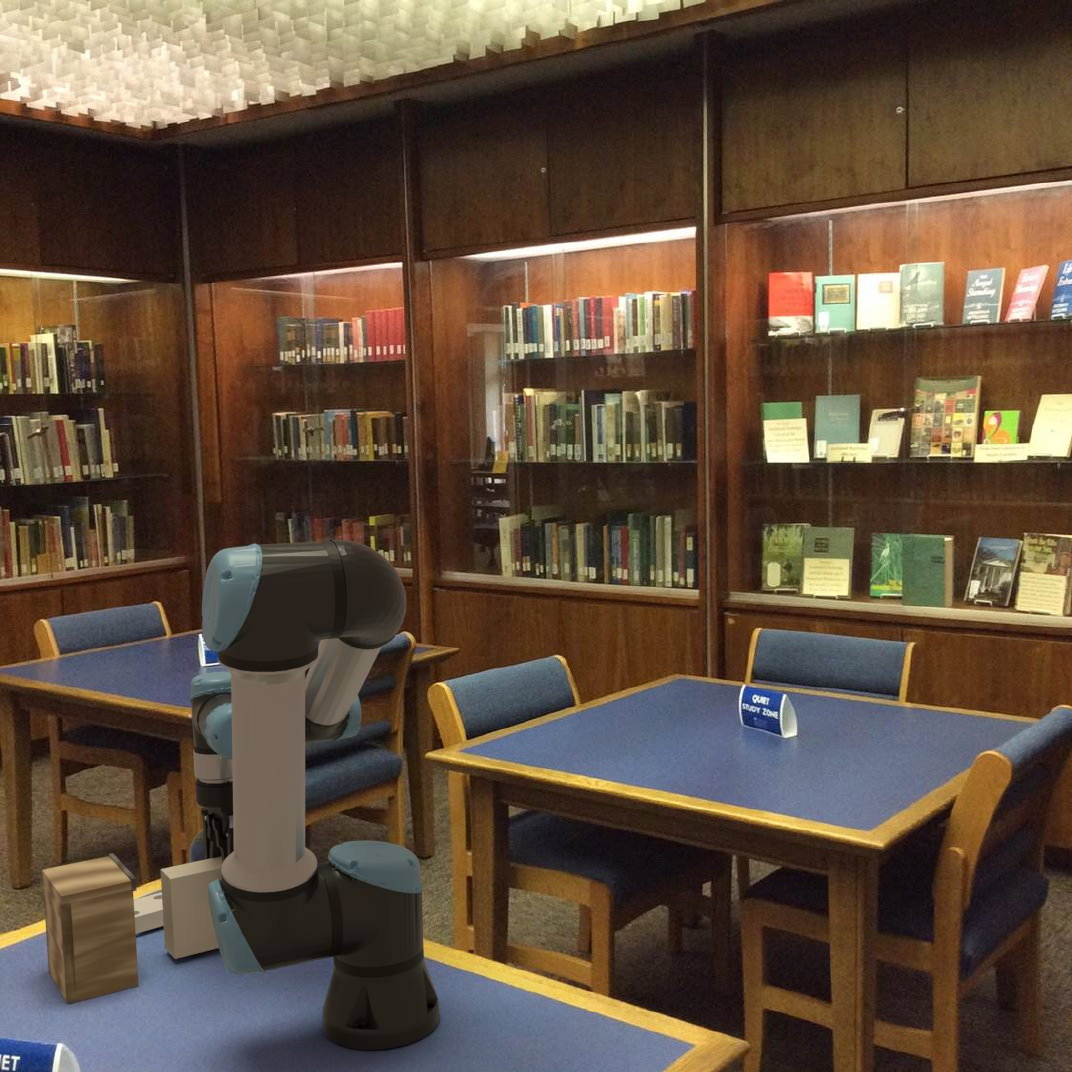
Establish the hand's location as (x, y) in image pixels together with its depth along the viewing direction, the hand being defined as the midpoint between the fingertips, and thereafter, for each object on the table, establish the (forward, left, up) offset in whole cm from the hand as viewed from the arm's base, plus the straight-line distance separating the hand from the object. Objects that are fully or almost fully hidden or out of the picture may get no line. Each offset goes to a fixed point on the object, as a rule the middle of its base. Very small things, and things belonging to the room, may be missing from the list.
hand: (228, 926), depth 187 cm
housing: (0, +20, -3) cm, 20 cm away
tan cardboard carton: (0, +4, -2) cm, 4 cm away
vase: (+22, -9, -3) cm, 24 cm away
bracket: (+15, +10, -3) cm, 18 cm away
